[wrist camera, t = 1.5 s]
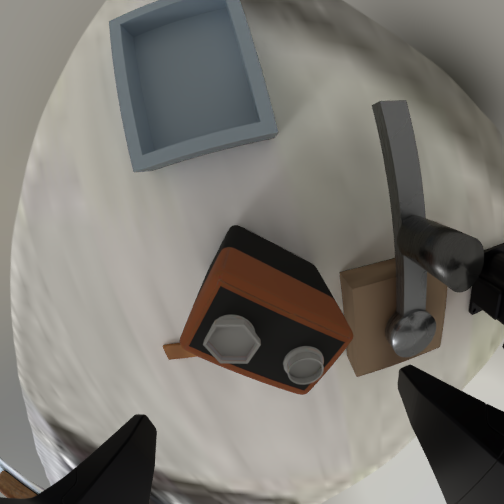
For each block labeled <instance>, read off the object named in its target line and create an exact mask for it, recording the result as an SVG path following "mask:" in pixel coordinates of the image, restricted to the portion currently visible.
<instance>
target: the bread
mask: <svg viewBox="0 0 504 504" xmlns="http://www.w3.org/2000/svg"><path fill="white" fill-rule="evenodd" d="M0 492H1V493H2V494H4V495H5V496H6V497H7V498H18V499H26V498H32V497H34V496H36V495H37V494H35V493H34V492H32V491H31V490H30V489H28V488H27V487H25V486H24V485H23V484H21V483H20V482H19V481H17V480H16V479H15V478H14V477H12V476H11V475H10V474H9V473H7V472H6V471H2V472H1V474H0Z"/></svg>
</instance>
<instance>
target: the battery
mask: <svg viewBox="0 0 504 504" xmlns="http://www.w3.org/2000/svg"><path fill="white" fill-rule="evenodd" d="M352 339H353V332H352V330H351V328H350V326H349V324H348V322H347V321H346V319H345V317H344V315H343V313H342V312H341V310H340V308H339V306H338V305H337V303H336V301H335V299H334V298H333V296H332V294H331V292H330V291H329V289H328V287H327V285H326V284H325V282H324V280H323V279H322V277H321V275H320V273H319V272H318V270H317V268H316V267H315V266H314V265H313V264H311V263H310V262H308V261H306V260H304V259H302V258H300V257H298V256H296V255H294V254H293V253H291V252H289V251H287V250H285V249H283V248H281V247H279V246H277V245H275V244H274V243H272V242H270V241H268V240H266V239H264V238H262V237H260V236H258V235H256V234H254V233H252V232H250V231H248V230H247V229H245V228H243V227H240V226H238V225H234V226H232V227H230V229H229V231H228V232H227V234H226V236H225V238H224V240H223V242H222V244H221V246H220V248H219V250H218V252H217V254H216V256H215V258H214V260H213V262H212V264H211V266H210V268H209V270H208V272H207V274H206V276H205V279H204V281H203V283H202V286H201V288H200V291H199V293H198V295H197V298H196V300H195V303H194V305H193V308H192V310H191V313H190V315H189V317H188V320H187V322H186V325H185V327H184V330H183V332H182V335H181V338H180V344H181V347H182V348H183V349H184V350H186V351H188V352H190V353H192V354H194V355H196V356H198V357H200V358H203V359H205V360H207V361H210V362H212V363H214V364H217V365H219V366H222V367H224V368H226V369H229V370H231V371H234V372H236V373H239V374H242V375H244V376H247V377H249V378H252V379H255V380H258V381H260V382H263V383H266V384H269V385H272V386H275V387H278V388H281V389H284V390H287V391H290V392H293V393H296V394H301V395H303V394H306V393H308V392H309V391H310V390H311V389H312V388H313V387H314V385H315V384H316V383H317V382H318V381H319V380H320V379H321V378H322V376H323V375H324V374H325V373H326V372H327V371H328V369H329V368H330V367H331V366H332V365H333V364H334V362H335V361H336V360H337V359H338V357H339V356H340V355H341V354H342V353H343V351H344V350H345V349H346V348H347V346H348V345H349V344H350V342H351V341H352Z"/></svg>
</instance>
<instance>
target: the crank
mask: <svg viewBox="0 0 504 504" xmlns="http://www.w3.org/2000/svg"><path fill="white" fill-rule="evenodd" d="M372 109H373V112H374V116H375V121H376V125H377V129H378V134H379V138H380V143H381V148H382V153H383V158H384V164H385V169H386V175H387V182H388V188H389V196H390V203H391V212H392V221H393V232H394V244H395V261H396V311H395V312H394V313H393V315H392V316H391V317H390V319H389V320H388V322H387V325H386V328H385V336H386V339H387V341H388V342H389V344H390V345H391V347H392V348H393V350H394V351H395V353H396V354H397V355H398V356H400V357H412V356H414V355H417V354H418V353H420V352H421V351H423V350H424V349H425V348H426V347H427V346H428V345H429V344H430V342H431V341H432V339H433V337H434V335H435V332H436V321H435V319H434V317H433V316H432V315H431V314H430V313H428V312H427V311H426V310H425V309H426V292H427V272H428V273H430V274H431V275H432V276H434V277H435V278H437V279H438V280H439V281H441V282H442V283H444V284H445V285H446V286H448V287H449V288H450V289H452V290H453V291H455V292H463V291H466V290H468V289H469V288H470V287H471V286H472V285H473V284H474V283H475V282H476V281H477V279H478V277H479V275H480V273H481V271H482V268H483V263H484V250H483V246H482V244H481V243H480V241H479V240H478V239H476V238H474V237H471V236H469V235H467V234H464V233H462V232H460V231H457V230H455V229H452V228H450V227H447V226H445V225H442V224H440V223H437V222H434V221H432V220H429V219H426V217H425V204H424V194H423V185H422V178H421V170H420V164H419V158H418V152H417V146H416V141H415V136H414V131H413V127H412V122H411V118H410V114H409V110H408V106H407V102H406V100H399V101H379V102H377V103H375V104H373V105H372Z"/></svg>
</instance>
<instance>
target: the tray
mask: <svg viewBox="0 0 504 504" xmlns="http://www.w3.org/2000/svg"><path fill="white" fill-rule="evenodd" d="M109 27H110V39H111V49H112V58H113V66H114V73H115V80H116V87H117V93H118V99H119V105H120V111H121V116H122V121H123V127H124V131H125V136H126V141H127V146H128V150H129V155H130V159H131V163H132V167H133V172H144V171H153V170H156V169H159V168H162V167H165V166H168V165H171V164H174V163H178V162H181V161H184V160H187V159H191V158H194V157H198V156H201V155H205V154H209V153H212V152H216V151H220V150H224V149H228V148H232V147H236V146H240V145H244V144H249V143H253V142H257V141H262V140H267V139H272V138H275V136H276V135H277V133H278V129H277V125H276V121H275V117H274V114H273V110H272V106H271V102H270V98H269V95H268V91H267V87H266V84H265V80H264V77H263V73H262V70H261V66H260V63H259V59H258V56H257V52H256V49H255V46H254V43H253V39H252V36H251V33H250V30H249V27H248V23H247V20H246V17H245V14H244V11H243V8H242V5H241V2H240V0H158V1H156V2H153V3H150V4H148V5H145V6H143V7H140V8H138V9H135V10H133V11H131V12H128V13H126V14H124V15H122V16H120V17H117V18H115V19H113V20H111V21H109Z"/></svg>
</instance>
